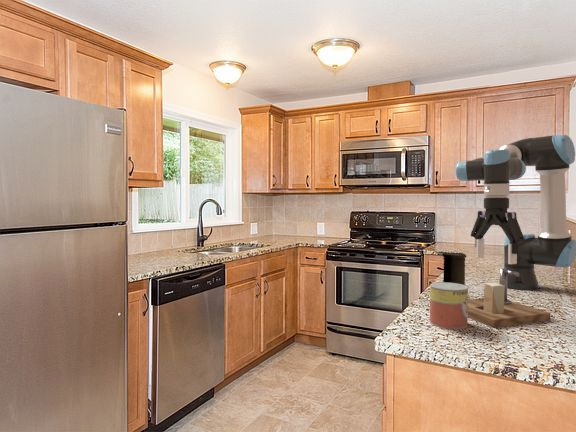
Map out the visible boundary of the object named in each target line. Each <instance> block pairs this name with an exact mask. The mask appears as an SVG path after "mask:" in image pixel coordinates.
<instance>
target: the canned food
mask: <svg viewBox="0 0 576 432" xmlns="http://www.w3.org/2000/svg"><path fill="white" fill-rule="evenodd" d="M429 288H430V289H429V323H430V324H431V325H432V326H434V327H438V328H441V329H448V330H461V329H465V328H468V326H469V323H468V319H469V318H468V300H469V298H468V297H469V287H468V285H466V284H465V285H463V284H458V283H449V282H443V281H442V282H439V281H438V282H437V281H436V282H432V283H430V284H429Z"/></svg>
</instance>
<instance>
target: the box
mask: <svg viewBox="0 0 576 432" xmlns="http://www.w3.org/2000/svg"><path fill="white" fill-rule="evenodd" d="M483 284H484V285H483V298H484V307H483V310H484V311H487V312H490V313H493V314H502V313H504V292H505V286H504V285H501V284H499V283H498V282H484V283H483Z"/></svg>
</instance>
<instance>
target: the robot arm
mask: <svg viewBox="0 0 576 432" xmlns="http://www.w3.org/2000/svg"><path fill="white" fill-rule="evenodd" d="M575 161H576V151H575V145H574V142H573V140H572V138H571V136H568V135H567V134H554V135H548V136H537V137H527V138H522V139H519V140H516V141H512V142H510V143H508V144H506V145H503V146H501V147H500V148H499V149H491V150H490V149H489V150H486V151H485V152H484V155H483V156H481V157H477V158H474V159H472V160H464V161H459V162H458V163H457V164H456V166H455V176H456V178H457V180H458V181H461V182H474V181H476V182H477V181H483V195H484V198H483V209H485V210H478V211H477V215H476V216H477V217H476V220H475V222H474V224H473V227H472V230H471V233H470V237H473V238H474V239H475V246H474V247H475V253H476V254H475V256H476V259H482V258H483V259H485V238H484V236H485V235H486V233H488V231H489V229H490V228H491V226H493V225H495V226H498V227H499V228H501V229H502V231H503V232H504V234H505V236H506V237H505V238H504V245H503V247H504V249H503V269H508V270H510V271H515V272H519V273H520V276H519V277H516V276H511V275H508V280H507V289H514V290H527V291H528V290H538V288H539V281H538V279H537V275H536V273H535V265H536V266H543V267H544V266H546V267H548V266H549V267H552V268H553V267H554V268H569V267H571V266H572V265H573V264H574V262H575V259H576V239H572V234H571V233H570V232H569V231H567V205H566V203H567V201H566V199H567V198H566V197H567V196H566V193H567V192H566V172H567V171H568V170H569V169H570V165H573V163H574V162H575ZM527 167H534V168H535V172H537V173H538V174H539V182H540V183H539V184H540V185H539V186H540V187H539V189H540V211H541V212H540V214H541V216H540V218H541V219H540V220H541V231H540V232H539V233H538V234H537V237H536V235H535V234H534V233H523V232H522V229H521V227H520V224H519V222H518V219H517V212H516V211H510V212H509V211H508V209H510V198H509V196H510V181H515V180H520V179H521V178H522V177H523V176H524V175H525V173H526V170H527ZM498 284H500V280H499V283H498Z"/></svg>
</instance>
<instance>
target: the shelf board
mask: <svg viewBox="0 0 576 432" xmlns="http://www.w3.org/2000/svg"><path fill="white" fill-rule="evenodd" d="M510 301H511V304H504V313H502V314H493V313H490V312H487V311H484V310H483V307H484V297H483V298H473V299H468V319H471V320H473V321H475V322H478V323H480V324H483V325H485V326H489V327H491V328H492V329H493V328H500V327H508V326H517V325H523V324H532V323H540V322H548V321H551V312H549V311H545V310H541V309H538V308H535V307H532V306H528V305H525V304H522V303H519V302H515V301H512V300H510Z"/></svg>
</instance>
